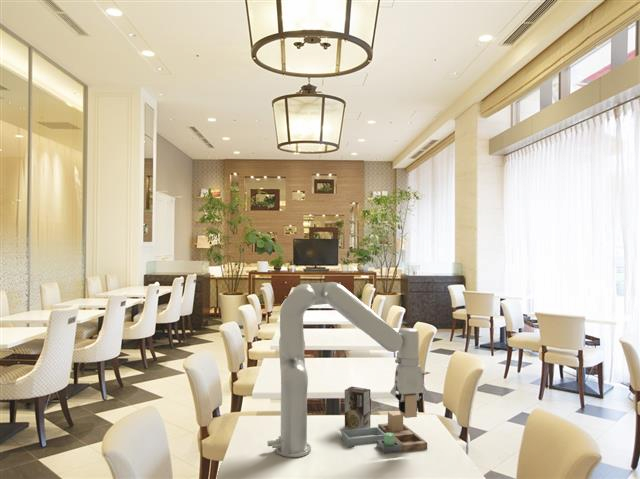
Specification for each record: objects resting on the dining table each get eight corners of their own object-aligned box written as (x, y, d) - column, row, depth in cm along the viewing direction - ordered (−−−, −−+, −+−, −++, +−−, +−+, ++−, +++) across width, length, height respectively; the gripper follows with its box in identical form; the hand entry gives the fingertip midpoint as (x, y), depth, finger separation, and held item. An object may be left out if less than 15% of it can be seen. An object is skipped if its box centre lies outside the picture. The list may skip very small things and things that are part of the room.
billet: (405, 418, 179) (405, 396, 179) (400, 414, 183) (400, 392, 183) (416, 416, 180) (416, 395, 180) (411, 412, 184) (411, 391, 185)
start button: (386, 451, 175) (386, 437, 175) (381, 447, 179) (382, 433, 179) (396, 450, 176) (396, 436, 176) (391, 445, 180) (392, 432, 180)
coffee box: (371, 429, 199) (371, 389, 199) (363, 433, 194) (364, 393, 194) (351, 424, 204) (351, 385, 204) (343, 429, 198) (344, 389, 199)
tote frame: (348, 447, 180) (348, 439, 180) (341, 438, 189) (341, 430, 189) (386, 443, 185) (386, 435, 185) (377, 434, 193) (377, 426, 193)
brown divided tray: (402, 453, 175) (402, 445, 175) (378, 431, 196) (378, 424, 196) (427, 451, 178) (427, 442, 178) (400, 429, 199) (400, 422, 199)
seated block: (392, 436, 189) (392, 415, 189) (387, 432, 194) (387, 411, 194) (403, 435, 190) (403, 414, 191) (398, 431, 195) (398, 410, 195)
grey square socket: (384, 456, 173) (384, 447, 173) (376, 448, 180) (376, 440, 180) (402, 453, 175) (402, 445, 175) (394, 446, 181) (394, 438, 182)
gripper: (391, 365, 176) (391, 416, 176) (433, 362, 181) (433, 412, 180) (383, 361, 183) (383, 409, 183) (423, 358, 188) (424, 405, 188)
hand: (408, 410), depth 182 cm, fingers closed on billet, 4 cm apart
